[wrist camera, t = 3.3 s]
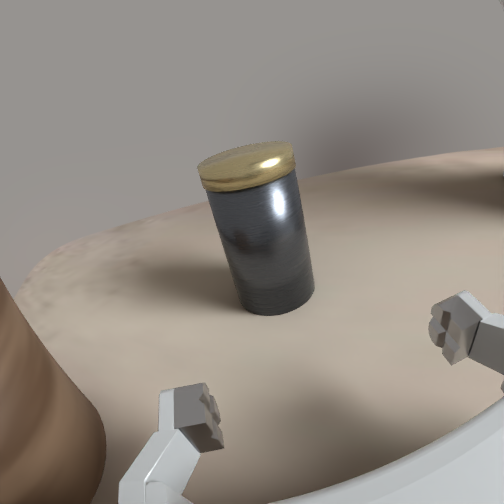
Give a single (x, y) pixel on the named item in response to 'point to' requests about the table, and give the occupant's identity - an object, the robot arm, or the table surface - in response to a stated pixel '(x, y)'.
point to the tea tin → (261, 225)
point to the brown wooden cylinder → (43, 422)
